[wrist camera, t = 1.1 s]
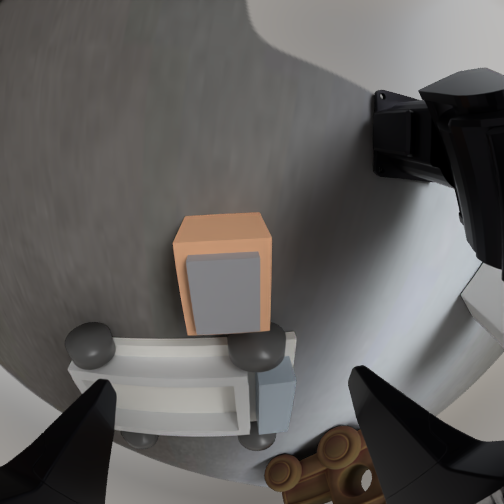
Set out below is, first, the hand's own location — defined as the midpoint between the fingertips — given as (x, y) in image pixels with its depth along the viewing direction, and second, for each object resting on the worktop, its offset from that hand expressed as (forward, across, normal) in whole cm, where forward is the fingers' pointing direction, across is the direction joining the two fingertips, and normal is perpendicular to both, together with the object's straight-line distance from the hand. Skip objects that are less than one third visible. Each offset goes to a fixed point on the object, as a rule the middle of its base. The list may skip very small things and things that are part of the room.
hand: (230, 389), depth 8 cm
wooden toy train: (+12, -13, +35) cm, 39 cm away
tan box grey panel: (+12, 0, 0) cm, 12 cm away
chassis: (+12, +5, +14) cm, 19 cm away
